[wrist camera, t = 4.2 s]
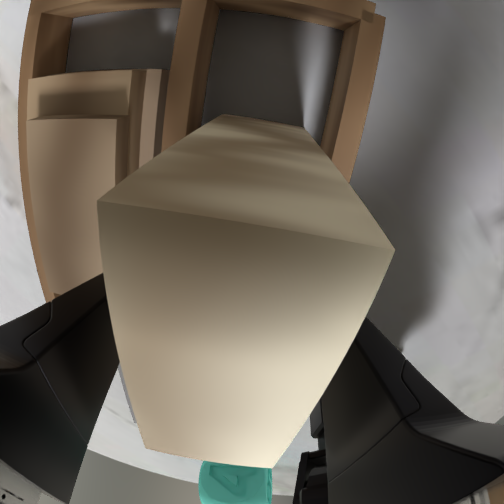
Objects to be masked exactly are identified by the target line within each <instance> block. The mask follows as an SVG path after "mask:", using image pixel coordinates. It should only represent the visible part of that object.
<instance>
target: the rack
mask: <svg viewBox="0 0 504 504" xmlns="http://www.w3.org/2000/svg"><path fill="white" fill-rule="evenodd" d="M375 6H376V3H373V2H370V1H367V0H31V4H30V8H29V13H28V18H27V23H26V29H25V35H24V42H23V49H22V57H21V67H20V79H19V97H18V141H19V160H20V172H21V182H22V191H23V199H24V206H25V213H26V219H27V225H28V230H29V236H30V241H31V245H32V250H33V255H34V259H35V263H36V267H37V271H38V275H39V279H40V283H41V286H42V290H43V293H44V297H45V300H46V303H47V302H49V301H52V300H53V299H54V298H56V297H58V296H60V294H57V293H53V292H50V290H49V287H48V283H47V279H46V275H45V271H44V267H43V262H42V258H41V253H40V248H39V243H38V238H37V233H36V227H35V221H34V215H33V208H32V200H31V192H30V183H29V172H28V158H27V135H26V121H27V97H28V79H33V78H39V77H46V76H47V75H53V74H61V73H65V70H66V61H67V53H68V45H69V38H70V32H71V26H72V21H73V18H76V17H82V16H87V15H94V14H100V13H107V12H116V11H125V10H137V9H153V8H181V9H180V14H179V19H178V25H177V30H176V36H175V41H174V47H173V54H172V60H171V67H170V74H169V81H168V89H167V97H166V106H165V115H164V126H163V137H162V149H161V152H163V151H164V150H166V149H167V148H169V147H170V146H172V145H173V144H175V143H176V142H178V141H180V140H181V139H183V138H184V137H186V136H187V135H189V134H190V133H192V132H194V131H195V130H197V129H198V128H200V127H201V122H202V115H203V107H204V100H205V93H206V86H207V80H208V73H209V67H210V61H211V55H212V49H213V44H214V38H215V32H216V27H217V22H218V17H219V12H220V9H224V10H236V11H246V12H254V13H261V14H268V15H275V16H281V17H286V18H292V19H297V20H302V21H307V22H311V23H315V24H320V25H324V26H328V27H332V28H335V29H339V30H343V31H344V34H343V39H342V44H341V50H340V55H339V60H338V65H337V70H336V75H335V80H334V85H333V90H332V95H331V99H330V104H329V109H328V113H327V118H326V123H325V127H324V132H323V136H322V141H321V145H320V147H321V149H322V150H323V151H324V152H325V154H326V155H327V156H328V157H329V159H330V160H331V161H332V162H333V164H334V165H335V166H336V167H337V169H338V170H339V171H340V173H341V174H342V175H343V176H344V178H345V179H346V180H347V182H348V183H349V182H350V179H351V175H352V171H353V168H354V164H355V160H356V156H357V153H358V149H359V145H360V141H361V137H362V133H363V129H364V124H365V120H366V116H367V112H368V107H369V103H370V98H371V94H372V89H373V85H374V80H375V75H376V70H377V65H378V60H379V54H380V49H381V43H382V38H383V32H384V26H385V19H386V17H383V16H381V15H378V14H375Z"/></svg>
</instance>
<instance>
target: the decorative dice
mask: <svg viewBox="0 0 504 504" xmlns="http://www.w3.org/2000/svg"><path fill="white" fill-rule="evenodd" d="M199 496H200V500H201V503H202V504H271V500H272V469H271V468H261V467H250V466H240V465H231V464H223V463H216V462H210V461H203V463H202V466H201V469H200V474H199Z"/></svg>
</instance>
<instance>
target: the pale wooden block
mask: <svg viewBox="0 0 504 504" xmlns="http://www.w3.org/2000/svg"><path fill="white" fill-rule="evenodd" d="M97 214H98V228H99V239H100V249H101V258H102V266H103V274H104V281H105V288H106V294H107V301H108V306H109V312H110V318H111V323H112V328H113V333H114V338H115V343H116V347H117V352H118V356H119V360H120V364H121V368H122V372H123V376H124V380H125V384H126V388H127V391H128V395H129V398H130V402H131V405H132V409H133V412H134V415H135V418H136V421H137V425H138V428H139V431H140V434H141V437H142V439H143V442H144V445H145V448H147V449H151V450H155V451H159V452H163V453H167V454H172V455H177V456H182V457H187V458H192V459H198V460H203V461H210V462H216V463H223V464H231V465H240V466H250V467H261V468H273V467H274V465H275V464H276V463H277V461H278V460H279V459H280V457H281V456H282V454H283V453H284V452H285V450H286V449H287V447H288V446H289V445H290V443H291V442H292V440H293V439H294V437H295V436H296V435H297V433H298V432H299V430H300V429H301V427H302V426H303V424H304V423H305V421H306V420H307V418H308V417H309V415H310V414H311V412H312V410H313V409H314V407H315V406H316V404H317V402H318V401H319V399H320V398H321V396H322V394H323V393H324V391H325V389H326V388H327V386H328V384H329V383H330V381H331V379H332V378H333V376H334V374H335V373H336V371H337V369H338V367H339V366H340V364H341V362H342V360H343V358H344V357H345V355H346V353H347V351H348V349H349V347H350V346H351V344H352V342H353V340H354V338H355V336H356V334H357V332H358V330H359V328H360V327H361V325H362V323H363V321H364V319H365V317H366V315H367V313H368V310H369V308H370V306H371V304H372V302H373V300H374V298H375V296H376V294H377V292H378V289H379V287H380V285H381V283H382V281H383V278H384V276H385V274H386V272H387V269H388V267H389V265H390V262H391V260H392V258H393V255H394V253H395V249H394V247H393V246H392V244H391V243H390V241H389V240H388V238H387V237H386V235H385V234H384V232H383V231H382V229H381V228H380V226H379V225H378V223H377V222H376V220H375V219H374V218H373V216H372V215H371V213H370V212H369V210H368V209H367V208H366V206H365V205H364V203H363V202H362V201H361V199H360V198H359V197H358V195H357V194H356V192H355V191H354V190H353V188H352V187H351V186H350V184H349V183H348V182H347V180H346V179H345V178H344V176H343V175H342V174H341V173H340V171H339V170H338V169H337V167H336V166H335V165H334V164H333V162H332V161H331V160H330V159H329V157H328V156H327V155H326V154H325V152H324V151H323V150H322V149H321V147H320V146H319V145H318V144H317V143H316V141H315V140H314V139H313V138H312V137H311V135H310V134H309V133H308V132H307V131H306V130H305V128H304V127H299V126H294V125H289V124H284V123H279V122H273V121H268V120H262V119H256V118H249V117H243V116H236V115H229V114H222V115H220V116H218V117H217V118H215V119H213V120H212V121H210V122H208V123H207V124H205V125H203V126H202V127H200V128H198V129H197V130H195V131H194V132H192V133H190V134H189V135H187V136H186V137H184V138H183V139H181V140H180V141H178V142H176V143H175V144H173V145H172V146H170V147H169V148H167V149H166V150H164V151H163V152H161V153H160V154H159V155H157V156H156V157H154V158H153V159H151V160H150V161H148V162H147V163H146V164H144V165H143V166H141V167H140V168H139V169H137V170H136V171H135V172H133V173H132V174H130V175H129V176H128V177H126V178H125V179H124V180H122V181H121V182H120V183H119V184H117V185H116V186H115V187H113V188H112V189H111V190H109V191H108V192H107V193H106V194H104V195H103V196H102V197H101V198H99V199H98V200H97Z"/></svg>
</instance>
